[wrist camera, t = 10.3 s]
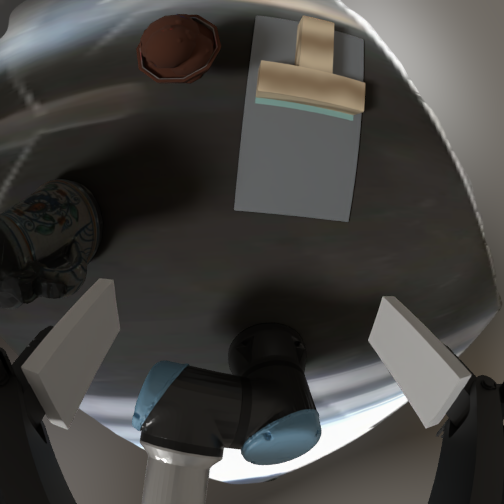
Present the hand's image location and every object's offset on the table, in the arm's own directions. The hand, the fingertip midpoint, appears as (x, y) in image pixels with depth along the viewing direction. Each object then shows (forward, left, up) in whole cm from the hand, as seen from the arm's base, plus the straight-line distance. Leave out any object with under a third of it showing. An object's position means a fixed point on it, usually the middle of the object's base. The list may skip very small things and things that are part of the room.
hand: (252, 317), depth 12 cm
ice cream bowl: (+22, +10, -32) cm, 40 cm away
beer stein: (-4, +29, -32) cm, 43 cm away
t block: (+25, -9, -31) cm, 41 cm away
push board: (+16, -9, -32) cm, 37 cm away
